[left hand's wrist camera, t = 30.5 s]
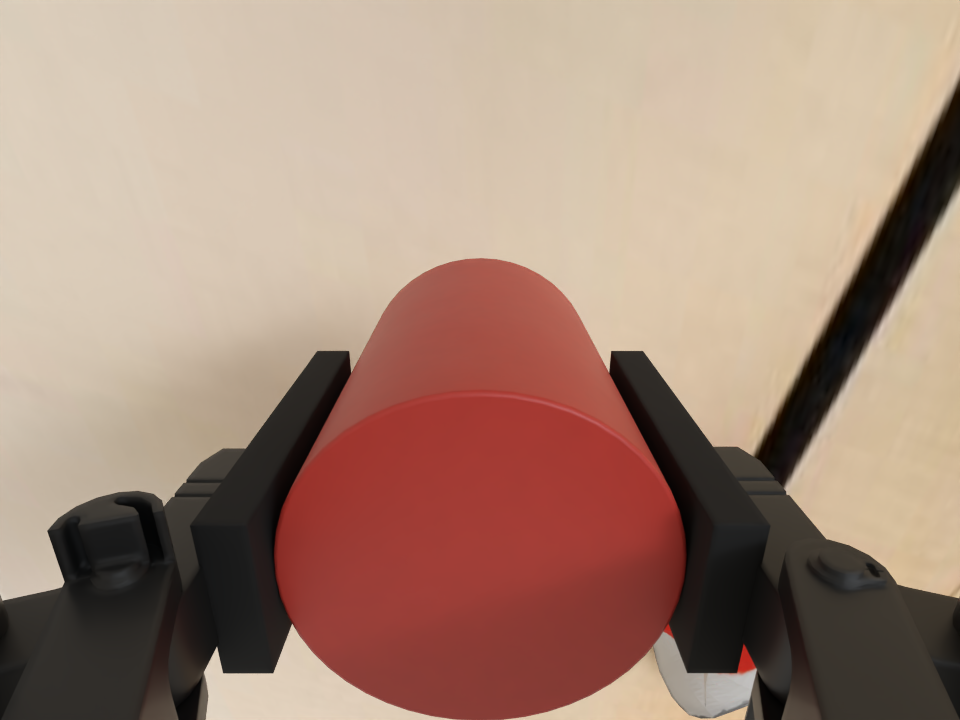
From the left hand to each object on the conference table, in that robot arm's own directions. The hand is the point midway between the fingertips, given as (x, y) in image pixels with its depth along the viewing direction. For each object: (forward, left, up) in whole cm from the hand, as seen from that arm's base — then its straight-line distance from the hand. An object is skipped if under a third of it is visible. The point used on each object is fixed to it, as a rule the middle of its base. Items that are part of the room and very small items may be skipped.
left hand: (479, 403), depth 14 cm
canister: (0, 0, -3) cm, 3 cm away
